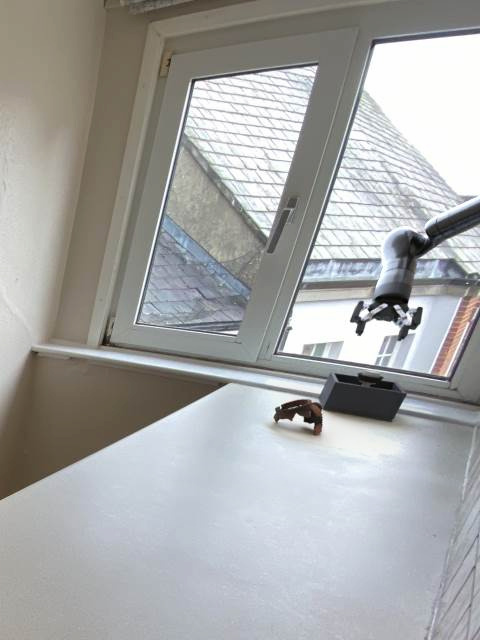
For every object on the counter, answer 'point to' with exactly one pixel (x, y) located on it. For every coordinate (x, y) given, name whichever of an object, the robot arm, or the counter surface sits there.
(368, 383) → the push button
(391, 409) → the dark grey open box
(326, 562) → the counter surface
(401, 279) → the robot arm
